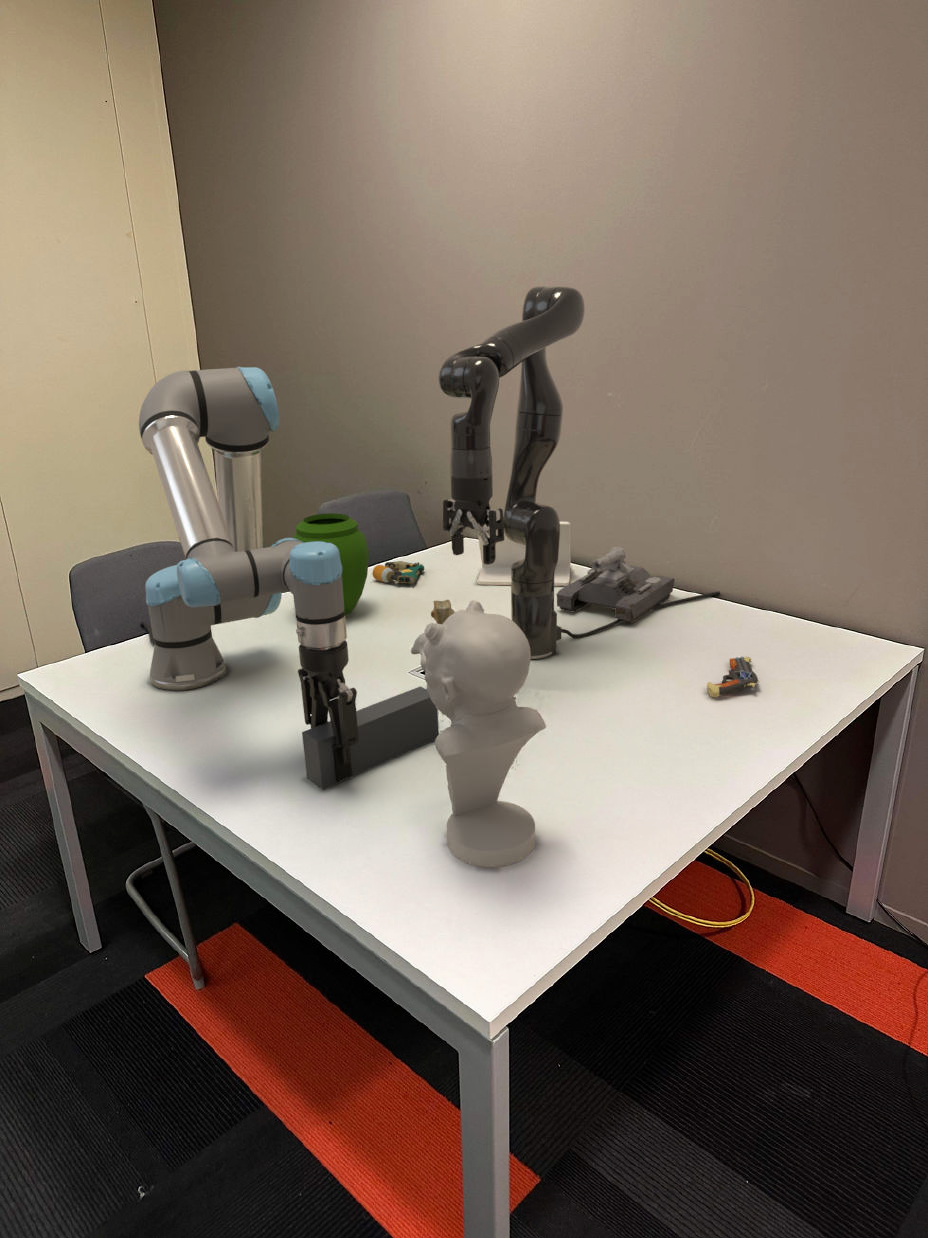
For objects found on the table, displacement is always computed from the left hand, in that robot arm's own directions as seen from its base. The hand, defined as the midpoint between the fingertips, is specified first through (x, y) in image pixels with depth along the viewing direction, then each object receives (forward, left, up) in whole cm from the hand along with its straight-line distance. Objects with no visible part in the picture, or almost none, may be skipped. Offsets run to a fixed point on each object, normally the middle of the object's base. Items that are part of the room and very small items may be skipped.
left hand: (334, 771), depth 141 cm
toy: (-20, +97, -1) cm, 99 cm away
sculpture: (-19, +40, -1) cm, 45 cm away
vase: (-65, +43, -1) cm, 78 cm away
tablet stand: (-53, +98, -1) cm, 112 cm away
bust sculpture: (+28, +5, -1) cm, 28 cm away
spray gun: (-77, +73, -1) cm, 106 cm away
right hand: (-6, +38, +27) cm, 47 cm away
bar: (0, +8, -1) cm, 8 cm away
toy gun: (+25, +78, -1) cm, 82 cm away
